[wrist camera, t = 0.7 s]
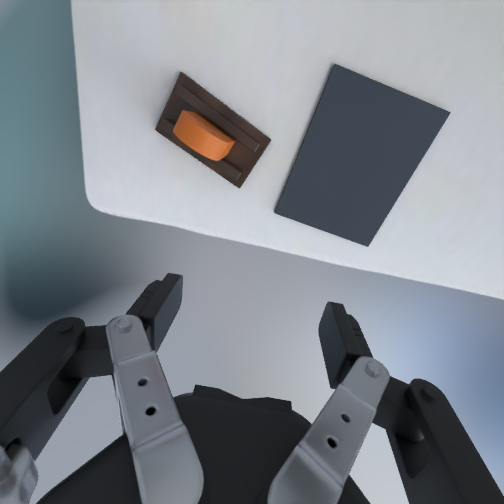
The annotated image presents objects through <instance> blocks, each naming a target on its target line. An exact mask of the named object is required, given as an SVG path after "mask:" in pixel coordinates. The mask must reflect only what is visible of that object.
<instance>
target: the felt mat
mask: <svg viewBox="0 0 504 504" xmlns="http://www.w3.org/2000/svg"><path fill="white" fill-rule="evenodd" d="M449 114H450V112H448V111H446V110H443V109H441V108H439V107H436V106H434V105H432V104H429V103H427V102H424V101H422V100H420V99H417V98H415V97H413V96H410V95H408V94H405V93H403V92H401V91H398V90H396V89H394V88H391V87H389V86H386V85H384V84H382V83H379V82H377V81H374V80H372V79H370V78H367V77H365V76H363V75H360V74H358V73H355V72H353V71H351V70H348V69H346V68H344V67H341V66H339V65H336V64H334V66H333V68H332V71H331V73H330V76H329V78H328V81H327V83H326V86H325V88H324V91H323V93H322V96H321V98H320V101H319V103H318V106H317V108H316V111H315V113H314V116H313V118H312V120H311V123H310V125H309V128H308V130H307V133H306V135H305V138H304V140H303V143H302V145H301V148H300V150H299V153H298V155H297V158H296V160H295V163H294V165H293V168H292V170H291V173H290V175H289V178H288V180H287V183H286V185H285V188H284V190H283V193H282V195H281V198H280V200H279V202H278V205H277V207H276V210H275V213H276V214H279V215H281V216H284V217H287V218H290V219H292V220H295V221H298V222H301V223H303V224H306V225H309V226H312V227H315V228H317V229H320V230H323V231H326V232H328V233H331V234H334V235H337V236H340V237H342V238H345V239H348V240H351V241H353V242H356V243H359V244H362V245H365V246H367V247H368V246H369V244H370V243H371V241H372V239H373V238H374V236H375V235H376V233H377V231H378V230H379V228H380V227H381V225H382V223H383V222H384V220H385V218H386V217H387V215H388V214H389V212H390V210H391V209H392V207H393V205H394V204H395V202H396V201H397V199H398V197H399V196H400V194H401V192H402V191H403V189H404V188H405V186H406V184H407V183H408V181H409V179H410V178H411V176H412V175H413V173H414V171H415V170H416V168H417V166H418V165H419V163H420V162H421V160H422V158H423V157H424V155H425V153H426V152H427V150H428V149H429V147H430V145H431V144H432V142H433V140H434V139H435V137H436V136H437V134H438V132H439V131H440V129H441V127H442V126H443V124H444V123H445V121H446V119H447V118H448V116H449Z"/></svg>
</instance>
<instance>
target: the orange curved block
mask: <svg viewBox="0 0 504 504" xmlns="http://www.w3.org/2000/svg"><path fill="white" fill-rule="evenodd" d="M173 132H174V134H175V135H176V136H177V137H178V138H179V139H180V140H181V141H182V142H183V143H185V144H186V145H187V146H189V147H190V148H192V149H193V150H195V151H196V152H198V153H200V154H201V155H203V156H205V157H207V158H209V159H212V160H215V161H219V160H220V159H222V158H224V157H225V156H227V154H228V153H229V151H230V149H231V148H232V146H233V144H234V143H235V140H234V139H233V138H231V137H230V136H229V135H227V134H226V133H225V132H223V131H222V130H221V129H219V128H218V127H216V126H215V125H214V124H212V123H211V122H210V121H208V120H207V119H206V118H204V117H203V116H201V115H200V114H199V113H195V112H190V111H185V110H183V111H182V112H181V114H180V117H179V119H178V121H177V123H176V125H175V127H174V129H173Z"/></svg>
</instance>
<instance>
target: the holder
mask: <svg viewBox="0 0 504 504" xmlns="http://www.w3.org/2000/svg"><path fill="white" fill-rule="evenodd" d="M183 110H185V111H190V112H195V113H199V114H200V115H201V116H203V117H204V118H206V119H207V120H208V121H210V122H211V123H212V124H214V125H215V126H216V127H218V128H219V129H221V130H222V131H223V132H225V133H226V134H227V135H229V136H230V137H231V138H233V139H234V140H235V143H234V144H233V146H232V148H231V149H230V151H229V153H228V154H227V156H225V157H224V158H222V159H220V160H219V161H215V160H212V159H209V158H207V157H205V156H203V155H201V154H200V153H198V152H196V151H195V150H193V149H192V148H190V147H189V146H187V145H186V144H185V143H183V142H182V141H181V140H180V139H179V138H178V137H177V136H176V135H175V134H174V132H173V129H174V127H175V125H176V123H177V121H178V119H179V117H180V114H181V112H182V111H183ZM155 130H156V131H157V132H159V133H160V134H162V135H163V136H164V137H166V138H167V139H169V140H170V141H172V142H173V143H175V144H176V145H177V146H179V147H180V148H182V149H183V150H185V151H186V152H188V153H189V154H190V155H192V156H193V157H195V158H196V159H198V160H199V161H201V162H202V163H203V164H205V165H206V166H208V167H209V168H211V169H212V170H214V171H215V172H216V173H218V174H219V175H221V176H222V177H224V178H225V179H227V180H228V181H229V182H231V183H232V184H234V185H235V186H237V187H238V188H240V187H241V186H242V184H243V183H244V181H245V180H246V178H247V177H248V175H249V173H250V172H251V170H252V169H253V167H254V166H255V164H256V163H257V161H258V160H259V158H260V157H261V155H262V154H263V152H264V151H265V149H266V148H267V146H268V144H269V143H270V141H271V139H270V138H268V137H267V136H266V135H264V134H263V133H262V132H260V131H259V130H258V129H257V128H255V127H254V126H253V125H251V124H250V123H249V122H247V121H246V120H245V119H243V118H242V117H241V116H239V115H238V114H237V113H235V112H234V111H233V110H231V109H230V108H229V107H227V106H226V105H225V104H224V103H222V102H221V101H220V100H218V99H217V98H216V97H214V96H213V95H212V94H210V93H209V92H208V91H206V90H205V89H204V88H202V87H201V86H200V85H198V84H197V83H196V82H194V81H193V80H192V79H191V78H189V77H188V76H187V75H185V74H184V73H182V72H181V73H180V75H179V77H178V80H177V82H176V84H175V86H174V89H173V91H172V93H171V95H170V98H169V100H168V102H167V104H166V107H165V109H164V111H163V113H162V115H161V118H160V120H159V122H158V124H157V127H156V129H155Z"/></svg>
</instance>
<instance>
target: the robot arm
mask: <svg viewBox="0 0 504 504" xmlns="http://www.w3.org/2000/svg"><path fill="white" fill-rule="evenodd" d="M182 286H183V276H182V275H178V274H173V273H168V274H167V275H166V276H165V278H164V279H163V280H162V281H159V280H156V281H154V282H152V283H151V284H149V285H148V286H147V288H146V289H145V290H144V292H143V293H142V294H141V295H140V297H139V298H138V299H137V300H136V301H135V303H134V304H133V305H132V307H131V308H130V309H129V310H128V312H127V313H126V314H125V315H121V316H118V317H115V318H114V319H112V320H111V321H110V322H109V323H108V324H107V325H103V326H89V327H85V323H84V321H83V320H82V319H80V318H76V317H68V318H63V319H59V320H57V321H55V322H53V323H51V324H50V325H48V326H47V327H46V328H45V329H44V330H43V331H42V332H41V333H40V334H39V335H38V336H37V337H36V338H35V339H34V340H33V341H32V342H31V343H30V344H29V345H28V346H27V347H26V348H25V349H24V350H23V351H21V353H19V354H18V356H17V357H15V358H14V359H13V360H12V361H11V362H10V363H9V364H8V365H7V366H6V367H5V368H4V369H3V370H2V371H1V372H0V504H29V502H30V499H31V496H32V494H33V492H34V490H35V487H36V485H37V482H38V470H37V467H36V465H35V460H36V459H37V457H38V456H39V454H40V453H41V451H42V450H43V448H44V447H45V445H46V444H47V442H48V440H49V439H50V437H51V436H52V434H53V433H54V431H55V430H56V428H57V427H58V425H59V424H60V422H61V421H62V419H63V418H64V416H65V414H66V413H67V411H68V410H69V408H70V407H71V405H72V404H73V402H74V401H75V399H76V398H77V396H78V394H79V393H80V392H81V390H82V388H83V387H84V385H85V384H86V382H87V381H88V379H89V378H90V377H97V376H106V375H112V380H113V386H114V391H115V396H116V401H117V407H118V413H119V419H120V425H121V432H122V436H120V437H119V438H118V439H116V440H115V441H114V442H112V443H111V444H110V445H108V446H107V447H106V448H104V449H103V450H102V451H101V452H99V453H98V454H97V455H95V456H94V457H93V458H92V459H90V460H89V461H87V462H86V463H85V464H84V465H82V466H81V467H80V468H79V469H77V470H76V471H74V472H73V473H72V474H71V475H69V476H68V477H67V478H65V479H64V480H63V481H62V482H60V483H59V484H57V485H56V486H55V487H54V488H52V489H51V490H50V491H49V492H48V493H46V495H44V496H43V497H42V498H41V499H40V500H39V501H38V502H37V503H36V504H370V503H369V501H368V500H367V498H366V497H365V496H364V494H363V493H362V492H361V490H360V489H359V487H358V486H357V485H356V483H355V482H354V480H353V479H352V478H351V476H350V475H349V473H350V470H351V468H352V466H353V464H354V462H355V459H356V457H357V455H358V453H359V450H360V448H361V446H362V444H363V441H364V439H365V437H366V434H367V432H368V430H369V428H370V426H371V423H374V424H376V425H378V426H380V427H382V428H384V429H386V432H387V435H388V438H389V442H390V445H391V447H392V451H393V454H394V457H395V460H396V463H397V467H398V470H399V473H400V476H401V479H402V483H403V485H404V488H405V492H406V495H407V498H408V501H409V504H504V496H503V494H502V493H501V491H500V489H499V487H498V486H497V484H496V482H495V480H494V479H493V478H492V475H491V474H490V472H489V470H488V469H487V467H486V465H485V463H484V462H483V460H482V458H481V457H480V455H479V453H478V451H477V450H476V448H475V446H474V444H473V443H472V441H471V439H470V438H469V436H468V434H467V432H466V431H465V429H464V427H463V426H462V424H461V422H460V420H459V419H458V417H457V416H456V413H455V412H454V410H453V408H452V407H451V405H450V403H449V401H448V400H447V398H446V397H445V395H444V394H443V393H442V391H441V390H439V389H438V388H437V387H436V386H435V385H433V384H432V383H430V382H428V381H426V380H423V379H413V380H412V381H411V383H410V384H407V383H405V382H402V381H400V380H398V379H395V378H393V377H391V376H390V375H389V372H388V370H387V369H386V368H385V367H384V366H383V364H382V363H380V362H379V361H377V360H376V359H374V358H373V356H372V354H371V352H370V349H369V347H368V344H367V342H366V340H365V338H364V335H363V333H362V331H361V328H360V326H359V324H358V322H357V321H356V320H355V319H354V317H353V316H351V315H349V314H347V313H346V311H345V308H344V305H343V304H339V303H334V302H328V303H327V304H326V307H325V310H324V312H323V316H322V318H321V321H320V324H319V338H320V343H321V347H322V352H323V356H324V361H325V365H326V369H327V374H328V379H329V383H330V388H332V389H336V390H335V391H334V393H333V394H332V396H331V397H330V399H329V400H328V402H327V403H326V404H325V406H324V408H323V409H322V411H321V412H320V413H319V415H318V416H317V418H316V420H315V421H314V422H313V424H311V423H310V422H309V421H308V420H307V419H305V418H304V417H303V416H302V415H300V414H298V413H297V412H295V411H293V410H292V406H291V401H286V400H281V399H274V398H269V397H265V398H252V399H241V398H239V397H237V396H234V395H232V394H229V393H227V392H225V391H223V390H221V389H218V388H212V387H206V386H201V385H195V388H194V391H193V393H186V394H182V395H179V396H176V397H174V398H173V396H172V394H171V391H170V388H169V386H168V383H167V380H166V378H165V375H164V372H163V370H162V367H161V364H160V362H159V359H158V356H157V354H156V353H157V351H158V349H159V347H160V345H161V343H162V341H163V340H164V338H165V336H166V334H167V332H168V330H169V327H170V326H171V324H172V322H173V320H174V318H175V316H176V314H177V312H178V310H179V308H180V305H181V301H182Z"/></svg>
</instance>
